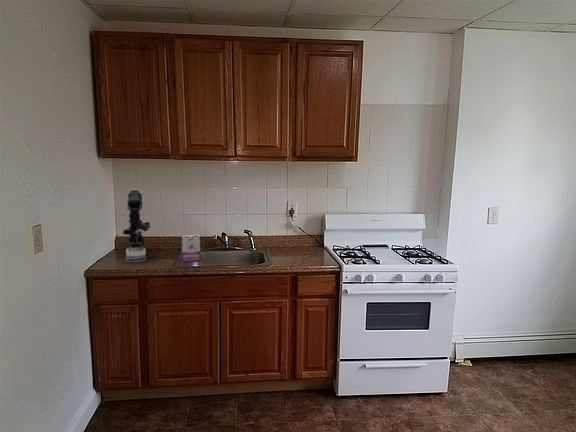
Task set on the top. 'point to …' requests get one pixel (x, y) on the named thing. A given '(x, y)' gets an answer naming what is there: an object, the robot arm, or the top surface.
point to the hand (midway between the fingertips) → (135, 243)
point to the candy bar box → (191, 248)
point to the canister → (135, 255)
